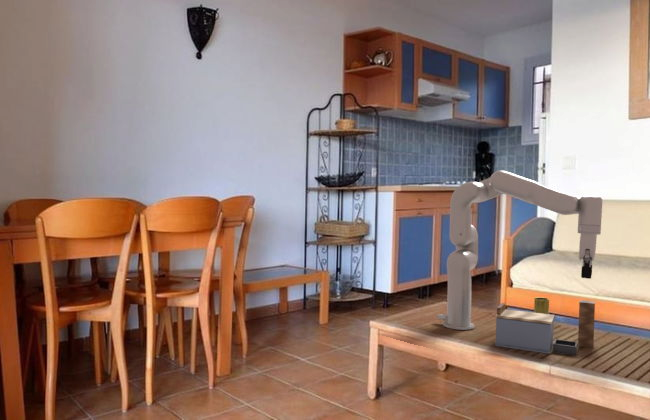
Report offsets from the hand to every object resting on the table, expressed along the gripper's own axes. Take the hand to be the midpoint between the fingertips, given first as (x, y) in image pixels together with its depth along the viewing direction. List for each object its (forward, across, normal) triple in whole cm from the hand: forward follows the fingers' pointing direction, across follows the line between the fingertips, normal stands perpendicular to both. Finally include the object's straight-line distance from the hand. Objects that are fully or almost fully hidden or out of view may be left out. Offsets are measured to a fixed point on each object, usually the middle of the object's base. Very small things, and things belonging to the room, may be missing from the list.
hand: (586, 276), depth 190 cm
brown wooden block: (+25, 0, +1) cm, 25 cm away
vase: (+26, -7, -15) cm, 31 cm away
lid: (+15, +13, -19) cm, 27 cm away
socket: (+25, +13, -5) cm, 29 cm away
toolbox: (+26, +13, -18) cm, 34 cm away
